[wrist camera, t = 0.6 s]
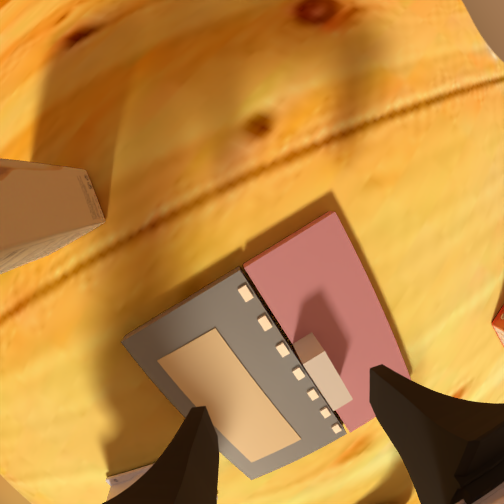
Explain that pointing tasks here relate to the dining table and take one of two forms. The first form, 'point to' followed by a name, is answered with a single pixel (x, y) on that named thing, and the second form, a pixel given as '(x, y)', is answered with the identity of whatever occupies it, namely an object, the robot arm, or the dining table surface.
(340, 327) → the pink board with handle
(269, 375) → the ticket
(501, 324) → the cracker box
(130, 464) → the dining table surface
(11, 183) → the skincare box
